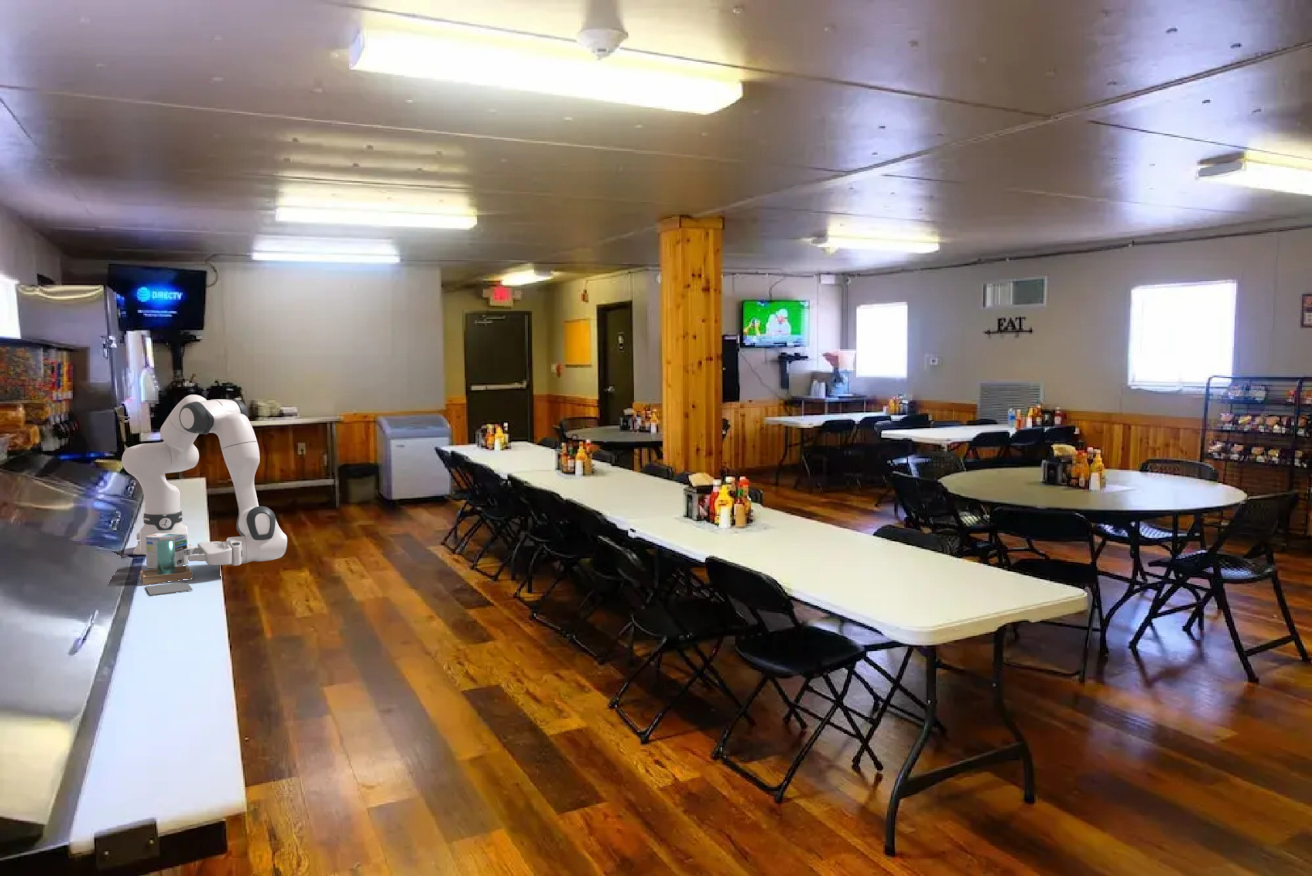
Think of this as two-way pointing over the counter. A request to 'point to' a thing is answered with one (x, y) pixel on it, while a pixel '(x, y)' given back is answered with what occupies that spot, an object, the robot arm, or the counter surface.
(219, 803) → the counter surface
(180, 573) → the wooden frame
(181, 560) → the light bulb box
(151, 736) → the counter surface
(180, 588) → the rubber mat
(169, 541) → the teal translucent cylinder
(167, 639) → the counter surface
